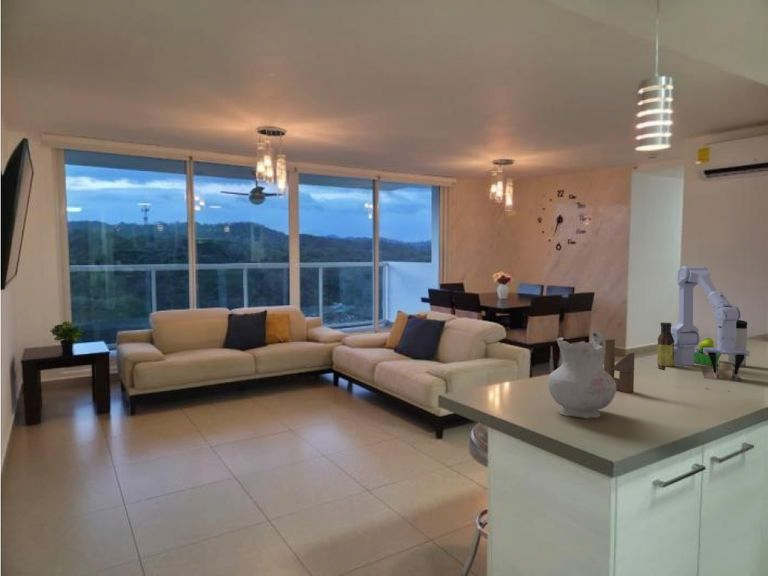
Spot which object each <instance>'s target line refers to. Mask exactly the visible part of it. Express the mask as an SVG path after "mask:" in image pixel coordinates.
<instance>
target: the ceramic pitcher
mask: <svg viewBox="0 0 768 576" xmlns="http://www.w3.org/2000/svg"><path fill="white" fill-rule="evenodd" d="M604 340H605V338H604V336H603V335H602V332H600V331H598V330H596V331H593V333H592V340H591V341H590V342H585V341H579V342H577V343H570V342H568V341H566V340H564V337H558V338H556V341H557V344H558V348H559V349H560V353H561V357H562V363H561V365H560V366H559V367H558V368H556V369H555V370H553V371H552V372H551V373H550V374H549V376H548V381H547V382H548V383H547V384H548V390H549V393H550V395H551V397H552V398H553V400H554V401H555V403H557V404H558V405H560V406H562V408H561V409H560V410H561V411H560V410H559V412H561V413H563V414H564V415H565V417H577V418H582V419H587V420H588V419H597V418H601V417H602V415H601V412H600V411H599V410H602V409H605V408H606V407H607V406H609V405H610V404H611V403H612V401H613V400H614V398H615V396H616V393H617V392H616V391H617V390H616V383H615V381H614V379H613V378H612V377H611V375H609V374H608V373H607V372H606V371H605V370H604V355H605V341H604ZM564 415H563V416H564Z"/></svg>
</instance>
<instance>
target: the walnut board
mask: <svg viewBox="0 0 768 576" xmlns="http://www.w3.org/2000/svg"><path fill="white" fill-rule="evenodd" d="M700 369H701V372H702V375H703V379H704V380H705V379H706V380H716V381H718V380H719V381H726V382H727V381H729V382H739V383H743V380H742V378H741V376H740V375H739V372H738V373H737V375H735V374H734V370H735V369H732V380H731V379H721V378H719V377H718V376H717V374H718V367H716V373H714V372H713V367H710V366H709V367H707V366H701V368H700Z"/></svg>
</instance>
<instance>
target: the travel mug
mask: <svg viewBox="0 0 768 576" xmlns="http://www.w3.org/2000/svg"><path fill="white" fill-rule="evenodd" d="M747 340H748V322H747V321H746V320H741V319H739V320H738V321H736V341H735V349H738V350H747V342H748V341H747ZM727 357H728V359H727V361H731V362H732V364H733V367H735V355H728V356H727ZM744 357H745V358H744V360H743V362H742V363H741V365H740V367H739V368H745V367H746V366H747V356H744ZM744 366H745V367H744Z"/></svg>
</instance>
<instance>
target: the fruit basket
mask: <svg viewBox="0 0 768 576" xmlns="http://www.w3.org/2000/svg"><path fill="white" fill-rule="evenodd" d="M714 343H715V342H714V340H713V339H712V337H711V338H710V337H705V338H704V340H703V341H700V342H699V344H698V345H699V348H694V362H695V363H694V364H698V363H700V364H701V365H704V364H705V365H704V366H709V365H711V366H713V365H712V362H711V359H710V357H709V355H708V353H703V347H705V348H715V347H714ZM721 355H722V354H716V364H717V365H718V364H719V360H720V357H721ZM700 364H699V365H700Z"/></svg>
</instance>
